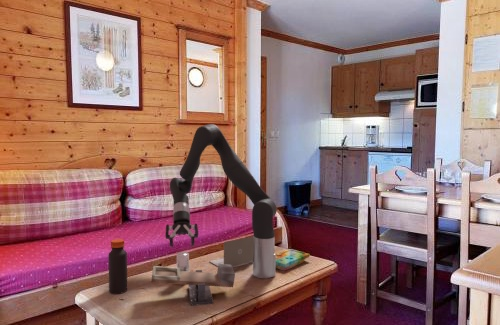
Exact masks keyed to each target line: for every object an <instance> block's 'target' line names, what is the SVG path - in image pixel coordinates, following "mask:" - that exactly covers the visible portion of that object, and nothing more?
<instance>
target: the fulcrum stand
mask: <svg viewBox="0 0 500 325" xmlns="http://www.w3.org/2000/svg"><path fill="white" fill-rule="evenodd" d="M195 272H203V270H202V269H196V270H195ZM210 287H211V286H205V283H198V285H188V296H189V301H190V302H189V304H190V306H191V307H192V306H203V305H213V304H214V299H213V295H212V292H211V288H210Z"/></svg>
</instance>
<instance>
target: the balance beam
mask: <svg viewBox="0 0 500 325" xmlns="http://www.w3.org/2000/svg"><path fill="white" fill-rule="evenodd" d="M235 276H236V273H235V270H234V267H232V266H231V265H229V264H218V266H217V272H216V273H215V272H203V271H202V272H196V271H190V270H189V271H180V268H177V267H172V266H161V265H153V267H152V273H151V281H150V283H158V284H172V285H173V284H175V285H180V284H184V285H188V286H189V285H198V283H205V286H209V287H222V288H234V285H235V278H236V277H235Z"/></svg>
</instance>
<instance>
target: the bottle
mask: <svg viewBox="0 0 500 325" xmlns="http://www.w3.org/2000/svg"><path fill="white" fill-rule="evenodd" d="M124 248H125V239H123V238H115V239H112V240H111V241H110V249H111V250H110V251H109V252H108V292H109V294H112V295H121V294H123V293H124V294H125V293H126V292H127V291H128V252H127V251H126V250H125V249H124Z"/></svg>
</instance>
